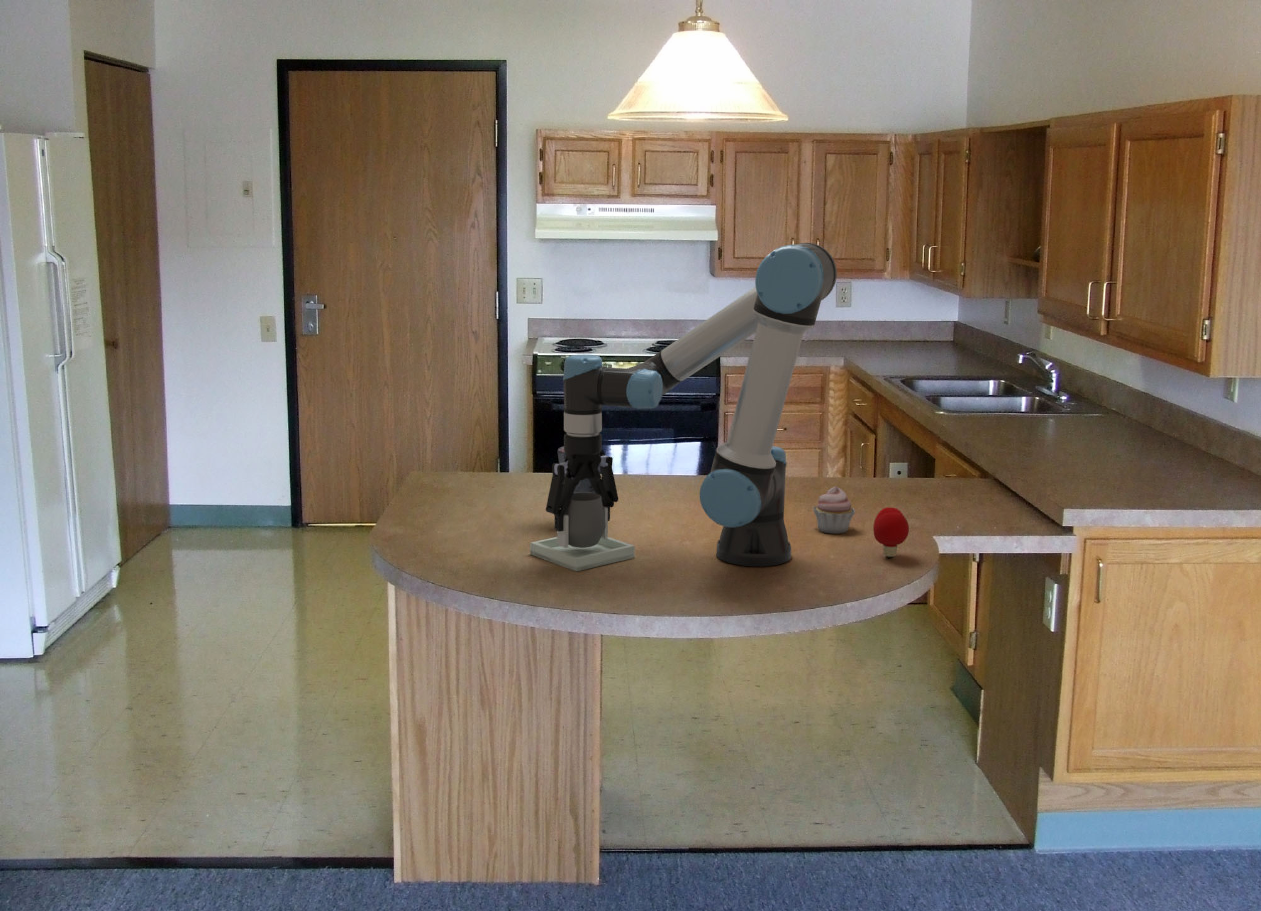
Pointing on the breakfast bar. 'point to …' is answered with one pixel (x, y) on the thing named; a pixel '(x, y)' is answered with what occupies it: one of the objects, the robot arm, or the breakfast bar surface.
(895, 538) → the light bulb
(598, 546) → the tray
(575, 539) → the cup
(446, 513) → the breakfast bar surface
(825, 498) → the cupcake
